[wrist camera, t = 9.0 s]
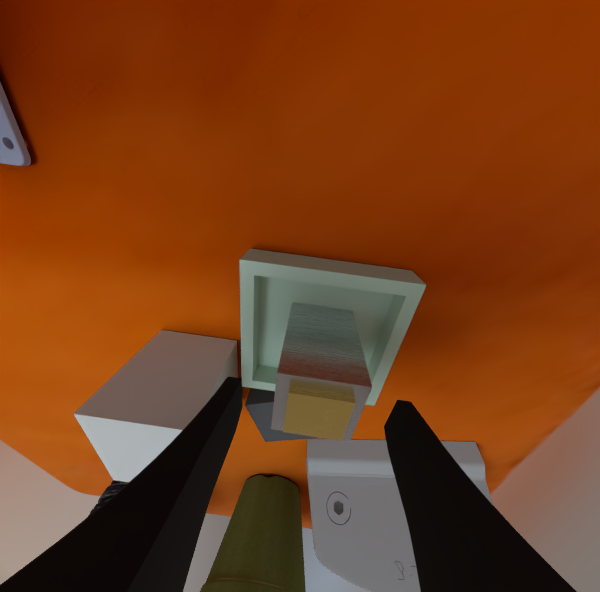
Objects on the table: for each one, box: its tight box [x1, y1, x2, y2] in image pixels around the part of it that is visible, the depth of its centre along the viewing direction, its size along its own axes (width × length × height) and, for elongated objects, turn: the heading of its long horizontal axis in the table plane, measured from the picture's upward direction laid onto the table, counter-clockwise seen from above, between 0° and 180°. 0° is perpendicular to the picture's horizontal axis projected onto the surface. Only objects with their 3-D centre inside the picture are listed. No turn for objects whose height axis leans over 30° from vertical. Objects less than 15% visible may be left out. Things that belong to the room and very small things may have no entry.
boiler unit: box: [74, 330, 238, 482], centre depth 16 cm, size 8×6×7 cm
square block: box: [245, 388, 318, 442], centre depth 19 cm, size 5×5×2 cm
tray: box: [240, 249, 426, 406], centre depth 15 cm, size 10×10×2 cm
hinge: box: [306, 439, 493, 592], centre depth 20 cm, size 17×5×10 cm, turn 96°
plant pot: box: [200, 475, 305, 592], centre depth 23 cm, size 12×12×11 cm
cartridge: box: [271, 302, 372, 441], centre depth 13 cm, size 4×4×6 cm
